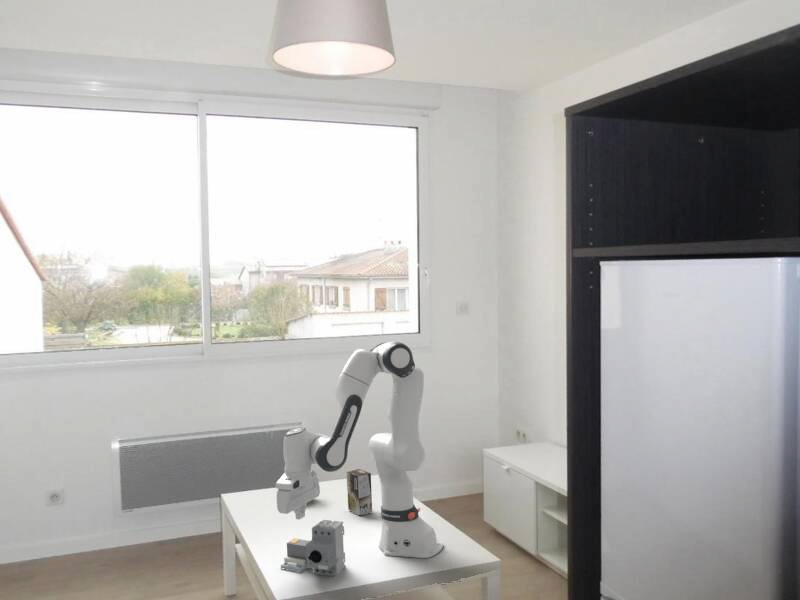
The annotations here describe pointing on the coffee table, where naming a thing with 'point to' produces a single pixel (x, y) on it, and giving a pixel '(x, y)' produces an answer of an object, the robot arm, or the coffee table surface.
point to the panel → (294, 564)
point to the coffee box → (359, 491)
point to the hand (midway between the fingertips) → (300, 518)
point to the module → (297, 548)
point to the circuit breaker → (326, 548)
